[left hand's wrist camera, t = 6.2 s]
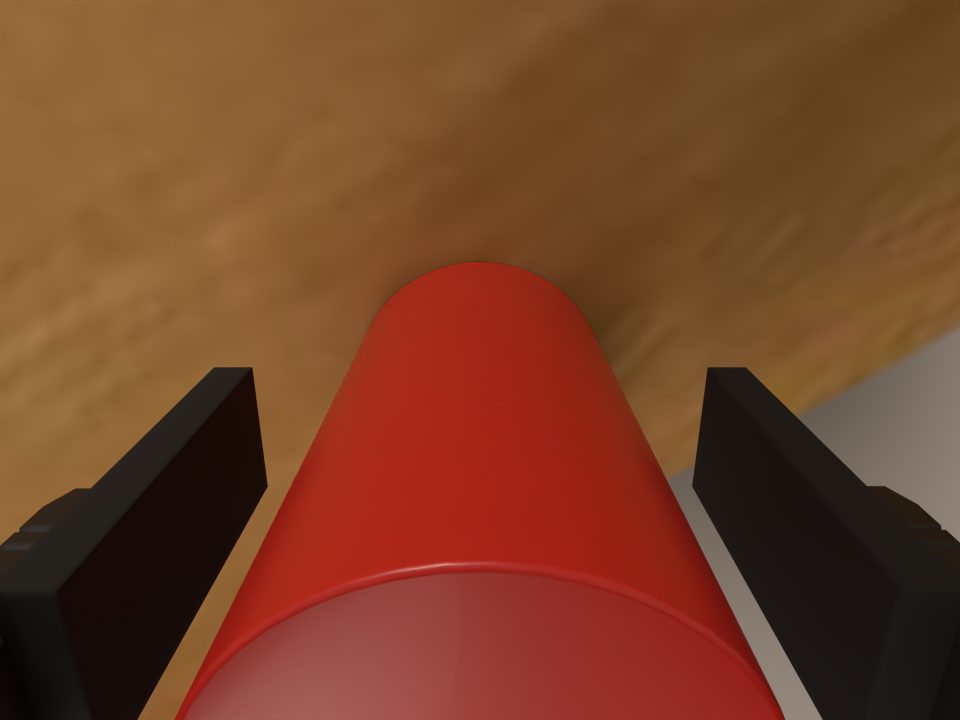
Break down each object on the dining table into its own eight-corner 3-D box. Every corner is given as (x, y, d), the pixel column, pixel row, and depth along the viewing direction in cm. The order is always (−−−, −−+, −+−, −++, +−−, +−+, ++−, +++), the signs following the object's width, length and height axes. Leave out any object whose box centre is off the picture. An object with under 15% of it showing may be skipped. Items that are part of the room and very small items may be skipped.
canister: (515, 521, 17) (563, 1070, 8) (317, 415, 16) (66, 892, 6) (649, 343, 16) (942, 751, 6) (437, 212, 15) (345, 435, 5)
